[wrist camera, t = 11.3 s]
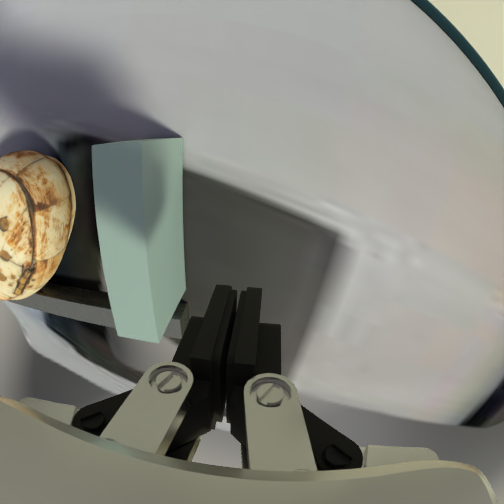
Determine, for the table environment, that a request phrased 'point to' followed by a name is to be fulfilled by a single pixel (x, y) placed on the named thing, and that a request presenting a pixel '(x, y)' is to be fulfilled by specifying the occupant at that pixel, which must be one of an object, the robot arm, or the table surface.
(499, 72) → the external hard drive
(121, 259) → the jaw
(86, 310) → the vise
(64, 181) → the trinket box
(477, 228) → the table surface
